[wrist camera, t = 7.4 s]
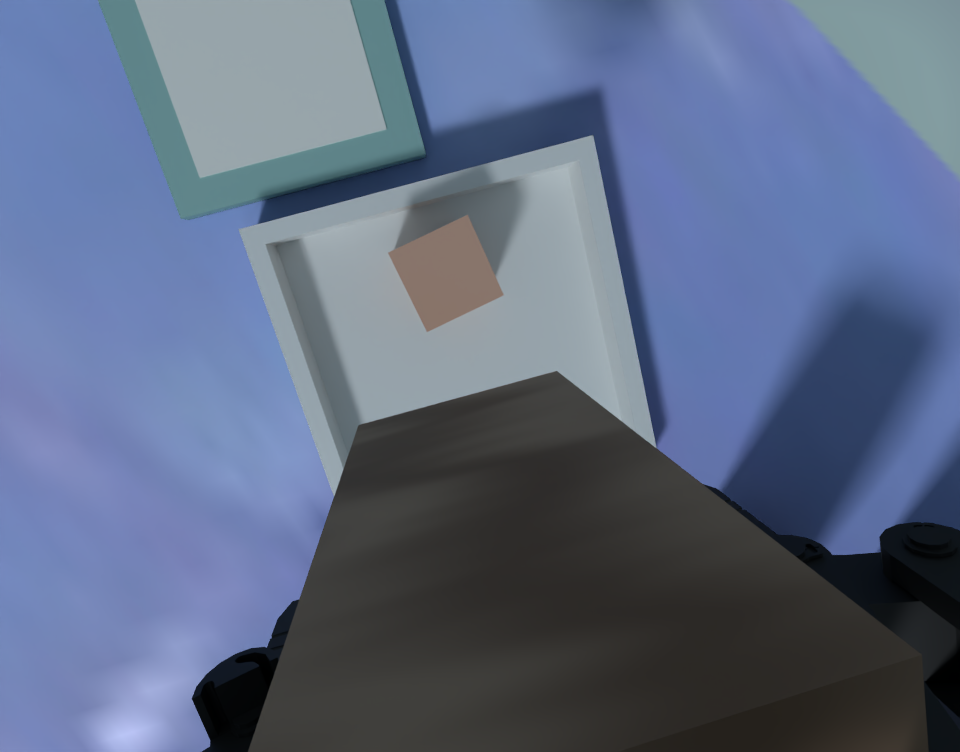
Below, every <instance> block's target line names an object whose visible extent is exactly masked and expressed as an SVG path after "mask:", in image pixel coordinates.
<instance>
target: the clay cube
mask: <svg viewBox="0 0 960 752" xmlns="http://www.w3.org/2000/svg"><path fill="white" fill-rule="evenodd" d="M388 254H389V256H390V258H391V260H392V262H393V264H394V266H395V268H396V270H397V272H398V274H399V276H400V278H401V280H402V282H403V284H404V286H405V289H406V291H407V293H408V295H409V297H410V299H411V301H412V303H413V305H414V307H415V309H416V311H417V313H418V315H419V317H420V319H421V321H422V323H423V325H424V327H425V329H426V331H427V332H428V331H430V330H433V329H435V328H437V327H439V326H441V325H443V324H445V323H447V322H449V321H451V320H453V319H455V318H458V317H460V316H462V315H464V314H466V313H468V312H470V311H472V310H474V309H476V308H478V307H480V306H483V305H485V304H487V303H489V302H491V301H493V300H495V299H497V298H499V297H501V296H503V295H504V294H503V292H502V290H501V288H500V285H499V283H498V281H497V279H496V277H495V274H494V272H493V270H492V268H491V265H490V263H489V261H488V259H487V256H486V254H485V252H484V250H483V248H482V245H481V243H480V241H479V239H478V236H477V234H476V232H475V230H474V228H473V225H472V223H471V221H470V219H469V216H468V215H466V216H464V217H462V218H460V219H458V220H455V221H453V222H451V223H449V224H447V225H445V226H443V227H441V228H439V229H437V230H435V231H432V232H430V233H428V234H426V235H424V236H422V237H420V238H418V239H416V240H414V241H411V242H409V243H407V244H405V245H403V246H401V247H399V248H397V249H395V250H393V251H391V252H388Z"/></svg>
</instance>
